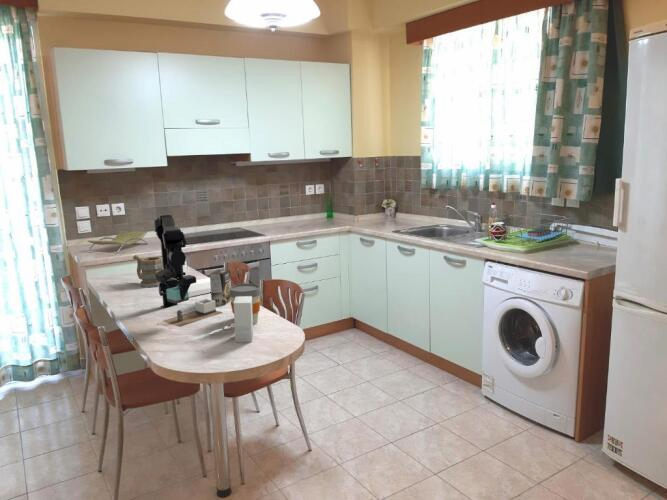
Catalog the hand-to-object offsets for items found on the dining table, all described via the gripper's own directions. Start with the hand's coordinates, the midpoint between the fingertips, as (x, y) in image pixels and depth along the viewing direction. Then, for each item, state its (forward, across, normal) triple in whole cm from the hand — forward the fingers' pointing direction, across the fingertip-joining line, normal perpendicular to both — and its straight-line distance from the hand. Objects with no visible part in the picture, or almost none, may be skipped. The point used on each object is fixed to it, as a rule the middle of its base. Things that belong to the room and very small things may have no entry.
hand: (177, 298), depth 215 cm
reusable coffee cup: (+11, +21, +17) cm, 30 cm away
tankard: (+11, -70, +31) cm, 77 cm away
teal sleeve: (+1, 0, 0) cm, 1 cm away
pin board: (+11, 0, +7) cm, 13 cm away
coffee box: (+11, -6, +27) cm, 30 cm away
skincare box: (+12, +34, +4) cm, 36 cm away
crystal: (+11, -31, +36) cm, 49 cm away
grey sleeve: (+10, 0, +13) cm, 16 cm away
